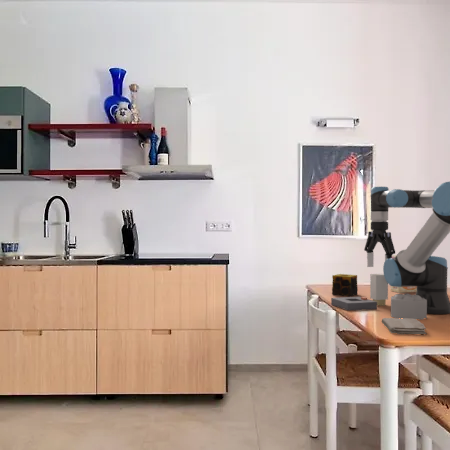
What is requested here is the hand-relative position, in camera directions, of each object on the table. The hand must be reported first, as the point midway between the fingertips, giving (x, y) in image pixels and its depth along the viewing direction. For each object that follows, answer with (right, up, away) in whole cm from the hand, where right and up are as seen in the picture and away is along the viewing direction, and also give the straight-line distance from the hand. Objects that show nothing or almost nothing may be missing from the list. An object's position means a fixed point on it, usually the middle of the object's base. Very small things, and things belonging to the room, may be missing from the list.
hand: (378, 268), depth 203 cm
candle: (-8, -16, +29) cm, 34 cm away
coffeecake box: (+29, -17, +40) cm, 52 cm away
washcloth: (-7, -17, -47) cm, 50 cm away
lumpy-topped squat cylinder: (+3, -17, -26) cm, 31 cm away
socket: (-13, -16, -6) cm, 22 cm away
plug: (+1, -16, 0) cm, 16 cm away
